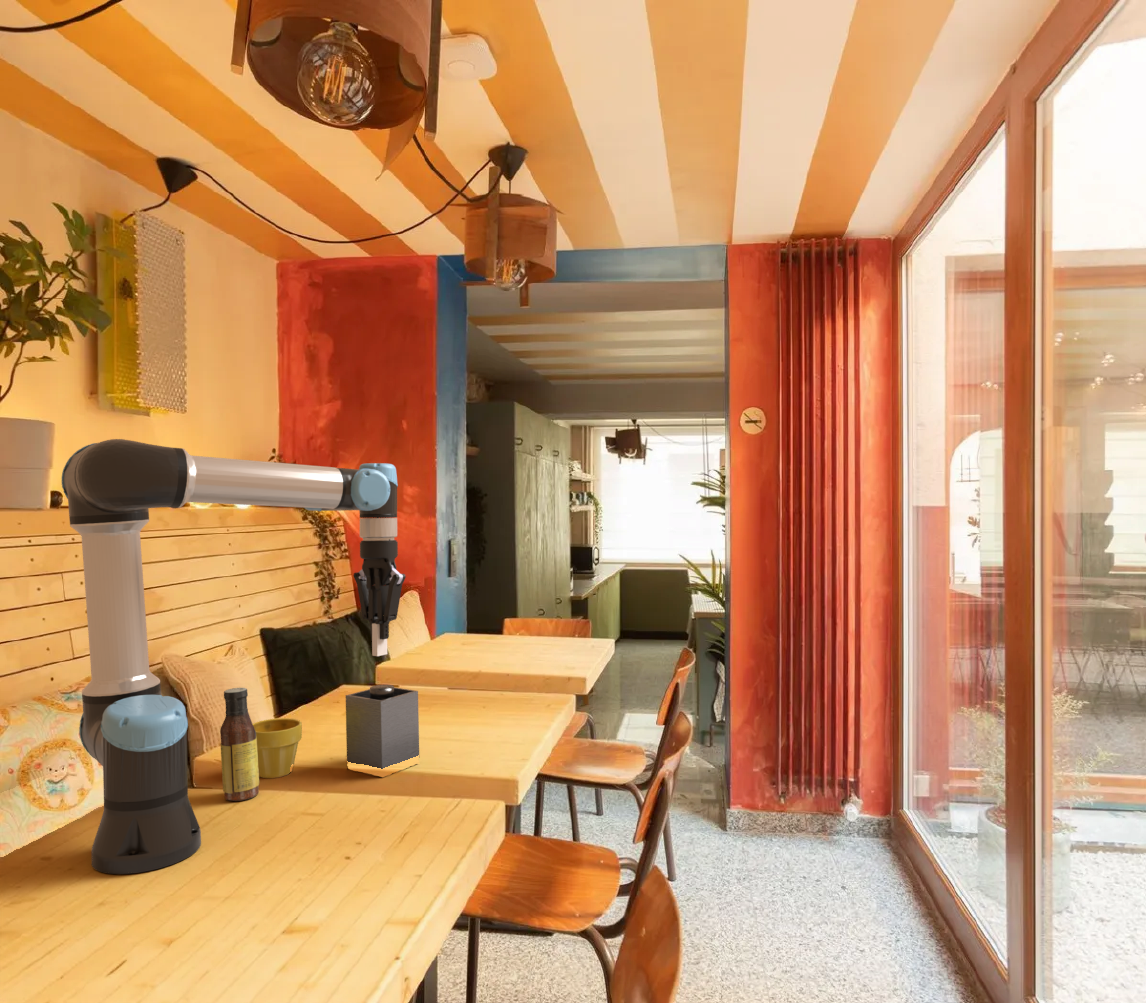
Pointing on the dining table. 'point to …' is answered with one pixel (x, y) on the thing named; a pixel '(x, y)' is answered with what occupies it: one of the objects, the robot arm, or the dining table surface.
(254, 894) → the dining table surface
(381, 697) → the plunger
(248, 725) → the sauce bottle
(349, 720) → the dark grey rectangular bin
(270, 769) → the plant pot
